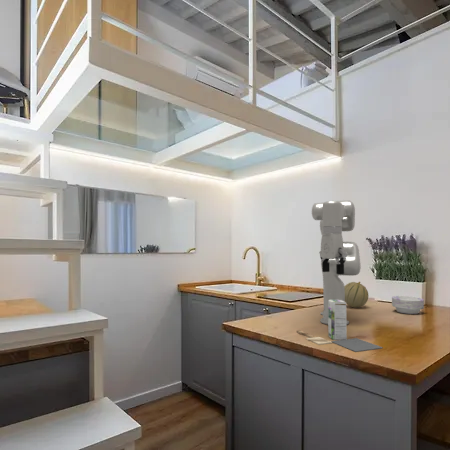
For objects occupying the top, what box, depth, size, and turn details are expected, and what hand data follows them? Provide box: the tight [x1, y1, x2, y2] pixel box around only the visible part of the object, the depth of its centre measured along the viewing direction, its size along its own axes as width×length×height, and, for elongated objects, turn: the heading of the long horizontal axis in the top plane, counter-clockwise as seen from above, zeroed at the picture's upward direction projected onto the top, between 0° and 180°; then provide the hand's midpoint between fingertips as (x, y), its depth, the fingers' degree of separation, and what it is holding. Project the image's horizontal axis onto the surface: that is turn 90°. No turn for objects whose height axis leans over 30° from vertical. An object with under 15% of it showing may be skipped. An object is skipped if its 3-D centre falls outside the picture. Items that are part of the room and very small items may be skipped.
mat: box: [330, 337, 383, 353], centre depth 125 cm, size 13×12×1 cm
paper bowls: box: [391, 295, 425, 315], centre depth 185 cm, size 15×15×8 cm
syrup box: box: [327, 300, 348, 341], centre depth 135 cm, size 6×6×14 cm
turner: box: [296, 330, 333, 346], centre depth 134 cm, size 18×6×1 cm, turn 21°
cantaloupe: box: [344, 281, 369, 309], centre depth 200 cm, size 15×15×15 cm
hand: (332, 272), depth 141 cm, fingers open, 9 cm apart
